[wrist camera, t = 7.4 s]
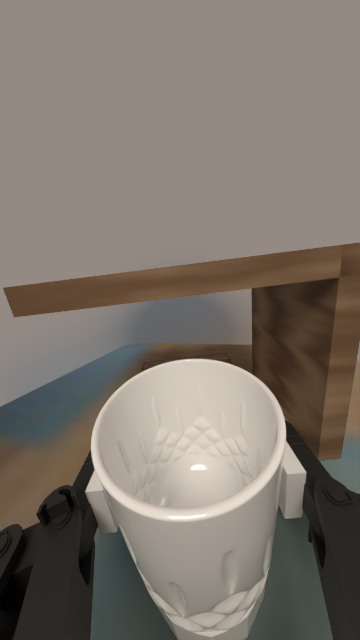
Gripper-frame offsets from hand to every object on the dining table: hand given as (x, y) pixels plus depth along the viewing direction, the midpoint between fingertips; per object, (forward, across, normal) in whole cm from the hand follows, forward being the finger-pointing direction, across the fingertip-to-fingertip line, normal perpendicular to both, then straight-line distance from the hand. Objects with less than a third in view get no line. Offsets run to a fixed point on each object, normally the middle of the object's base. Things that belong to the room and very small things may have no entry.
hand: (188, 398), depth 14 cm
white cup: (-5, 0, -6) cm, 8 cm away
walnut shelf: (+7, +1, -8) cm, 11 cm away
